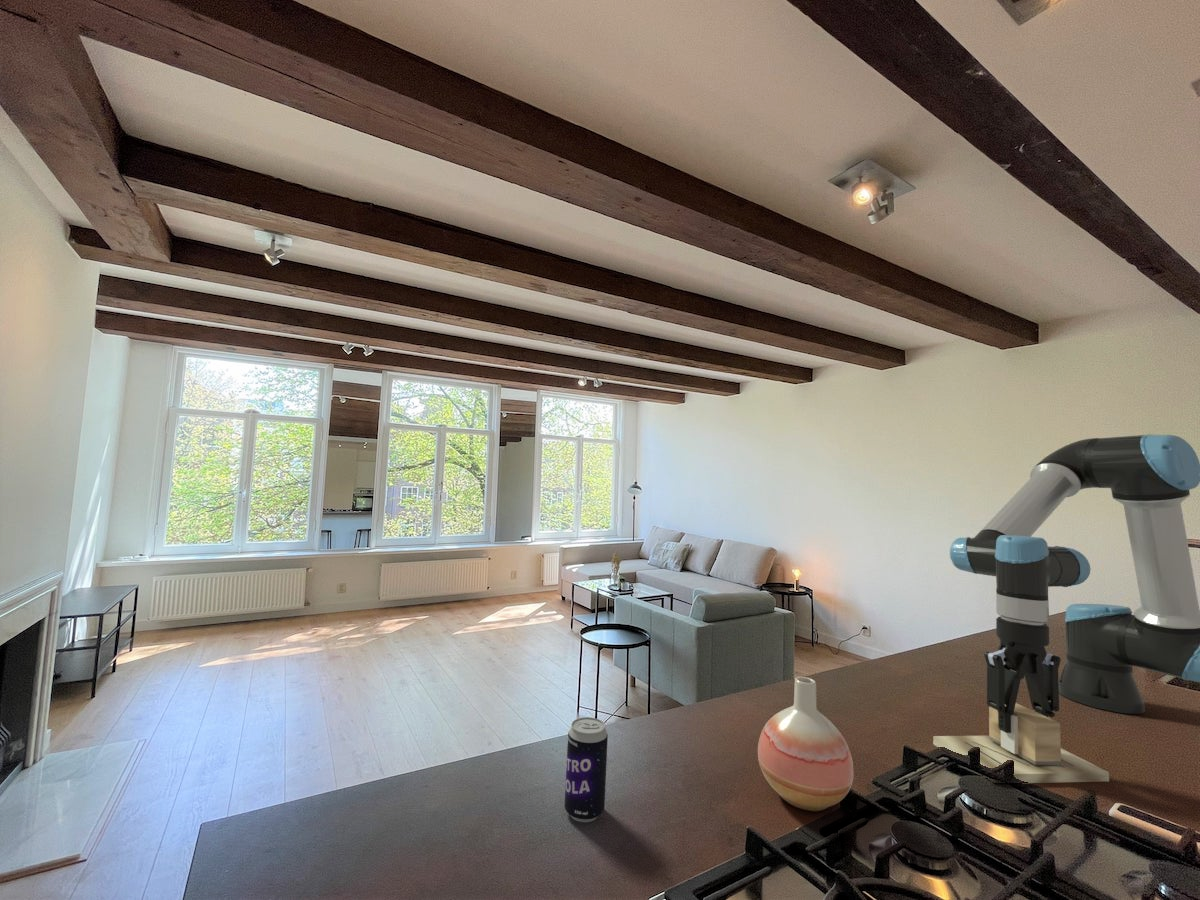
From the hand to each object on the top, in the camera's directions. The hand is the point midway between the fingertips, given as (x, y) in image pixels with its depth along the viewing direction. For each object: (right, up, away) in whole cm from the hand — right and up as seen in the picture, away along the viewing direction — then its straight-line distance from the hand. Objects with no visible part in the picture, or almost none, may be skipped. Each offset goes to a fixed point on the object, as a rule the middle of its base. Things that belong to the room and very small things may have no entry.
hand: (1023, 749), depth 92 cm
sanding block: (0, 0, 0) cm, 0 cm away
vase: (-46, +1, -15) cm, 48 cm away
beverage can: (-80, +3, -21) cm, 82 cm away
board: (-2, -2, 0) cm, 3 cm away
